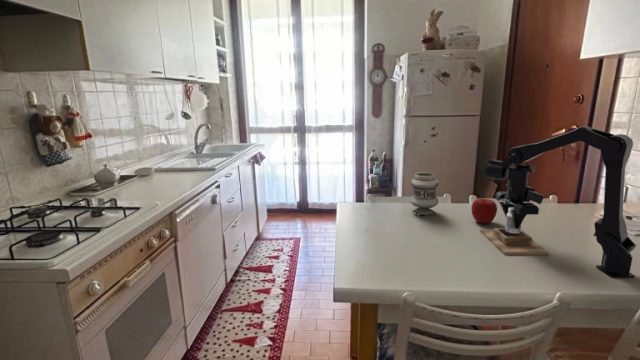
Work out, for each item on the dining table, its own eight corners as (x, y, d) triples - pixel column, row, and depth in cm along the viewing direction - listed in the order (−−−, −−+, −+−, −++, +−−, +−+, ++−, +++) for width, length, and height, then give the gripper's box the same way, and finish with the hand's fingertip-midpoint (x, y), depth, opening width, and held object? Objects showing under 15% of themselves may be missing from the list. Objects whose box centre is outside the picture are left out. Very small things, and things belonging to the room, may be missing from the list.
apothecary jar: (404, 210, 162) (405, 172, 157) (427, 207, 165) (429, 169, 161) (419, 218, 150) (421, 177, 146) (443, 215, 154) (445, 175, 150)
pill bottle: (522, 234, 120) (524, 210, 119) (507, 233, 121) (509, 210, 120) (517, 229, 125) (520, 206, 123) (503, 228, 126) (505, 206, 124)
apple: (501, 224, 141) (503, 200, 139) (483, 228, 138) (485, 203, 136) (482, 217, 150) (484, 194, 147) (465, 220, 146) (466, 197, 144)
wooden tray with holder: (547, 254, 114) (549, 244, 113) (503, 254, 115) (505, 244, 114) (517, 231, 134) (518, 222, 133) (480, 231, 134) (480, 223, 134)
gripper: (558, 189, 110) (553, 235, 113) (527, 176, 128) (523, 216, 131) (522, 189, 110) (517, 236, 114) (496, 176, 128) (492, 217, 132)
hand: (513, 225), depth 123 cm, fingers closed on pill bottle, 5 cm apart
